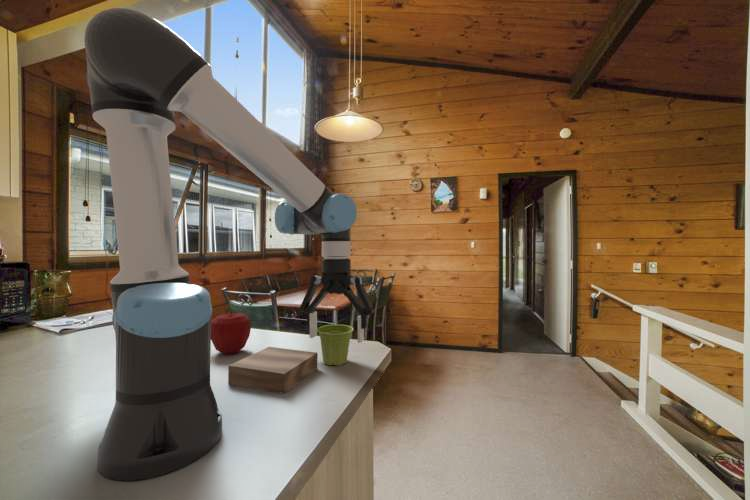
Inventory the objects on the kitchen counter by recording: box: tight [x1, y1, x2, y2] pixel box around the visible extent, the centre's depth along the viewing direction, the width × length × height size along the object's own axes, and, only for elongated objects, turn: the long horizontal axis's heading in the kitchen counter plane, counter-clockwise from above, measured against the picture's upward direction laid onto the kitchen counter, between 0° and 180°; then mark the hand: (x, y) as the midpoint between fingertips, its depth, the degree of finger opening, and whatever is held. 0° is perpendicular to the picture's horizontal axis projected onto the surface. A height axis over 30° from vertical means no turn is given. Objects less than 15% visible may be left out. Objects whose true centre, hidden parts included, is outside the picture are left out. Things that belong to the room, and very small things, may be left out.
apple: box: [211, 311, 252, 355], centre depth 89 cm, size 11×11×12 cm
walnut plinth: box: [227, 346, 318, 394], centre depth 72 cm, size 14×14×4 cm
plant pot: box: [317, 324, 354, 366], centre depth 82 cm, size 9×9×9 cm
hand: (336, 339), depth 82 cm, fingers open, 13 cm apart
